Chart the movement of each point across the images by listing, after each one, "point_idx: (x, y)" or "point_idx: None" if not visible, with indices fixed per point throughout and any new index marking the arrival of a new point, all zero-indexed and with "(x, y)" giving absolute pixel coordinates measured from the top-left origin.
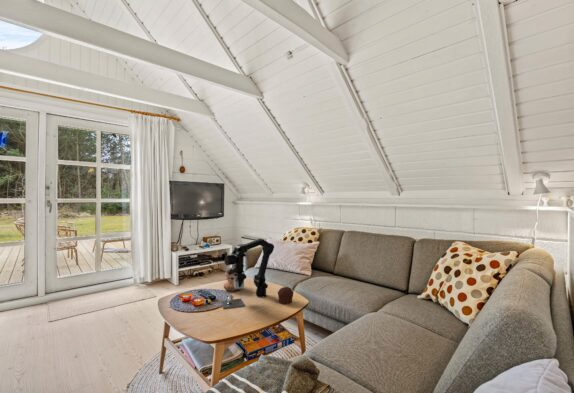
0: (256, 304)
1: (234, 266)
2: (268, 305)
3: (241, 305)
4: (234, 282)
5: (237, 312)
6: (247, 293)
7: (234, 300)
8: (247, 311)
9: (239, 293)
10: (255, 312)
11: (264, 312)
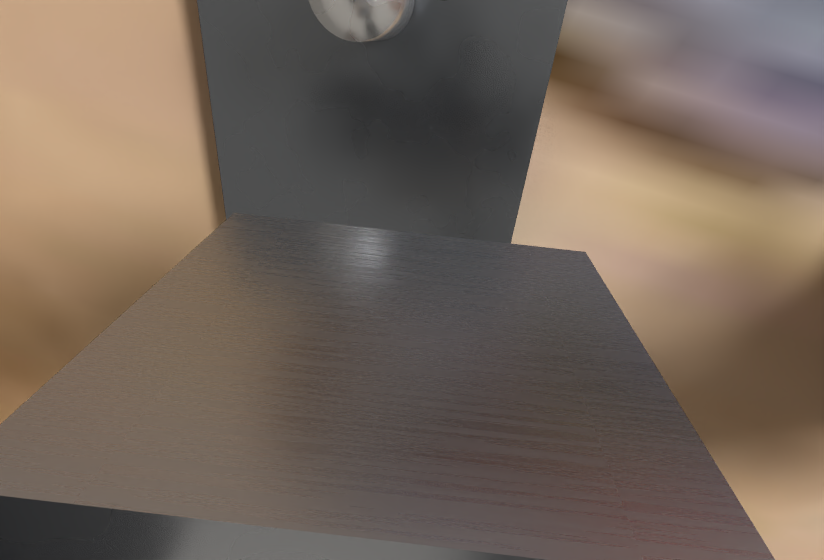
0: None
1: None
2: None
3: (226, 185)
4: (455, 376)
5: (6, 46)
6: (681, 399)
7: (471, 139)
8: (45, 202)
9: (776, 316)
10: (13, 278)
11: (16, 355)
